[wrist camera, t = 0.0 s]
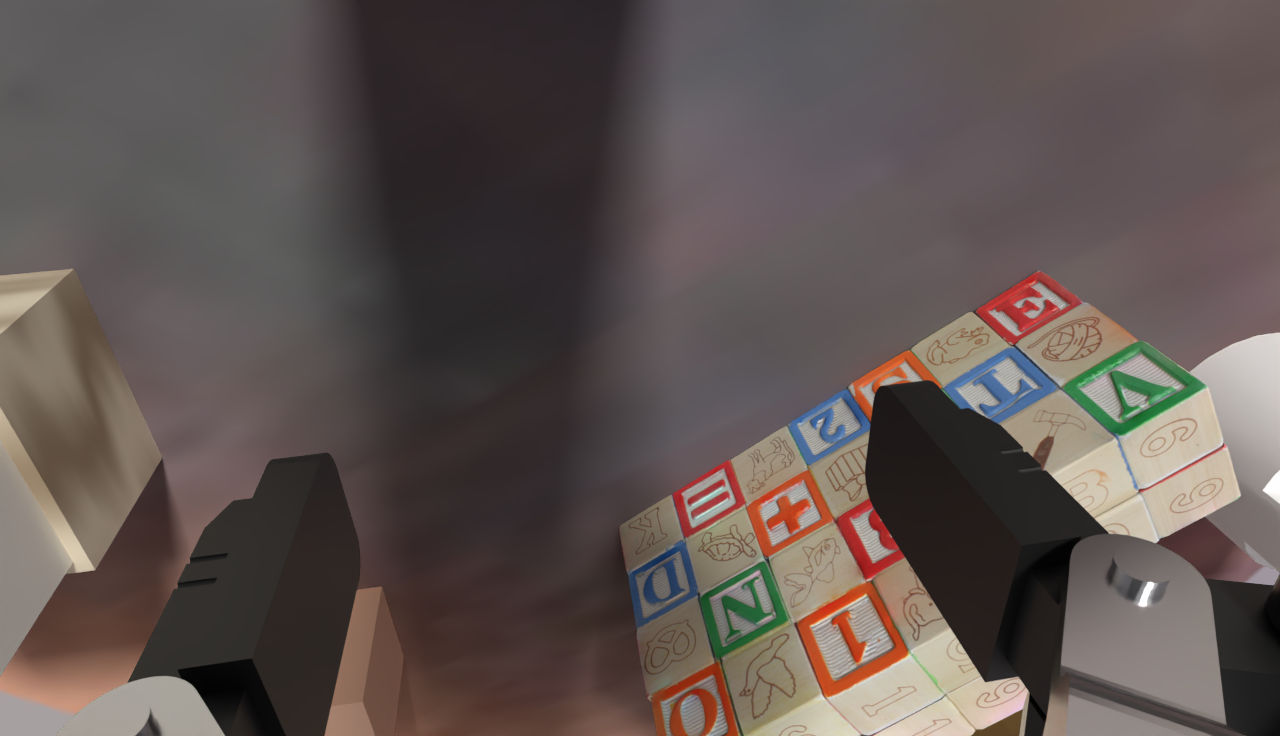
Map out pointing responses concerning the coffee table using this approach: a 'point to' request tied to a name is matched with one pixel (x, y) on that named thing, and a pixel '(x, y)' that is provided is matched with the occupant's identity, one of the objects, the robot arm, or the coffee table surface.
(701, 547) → the stack of blocks
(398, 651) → the tan block
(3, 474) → the cream middle block
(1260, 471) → the cylinder with rectangular tab
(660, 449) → the coffee table surface
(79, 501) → the maple base block
